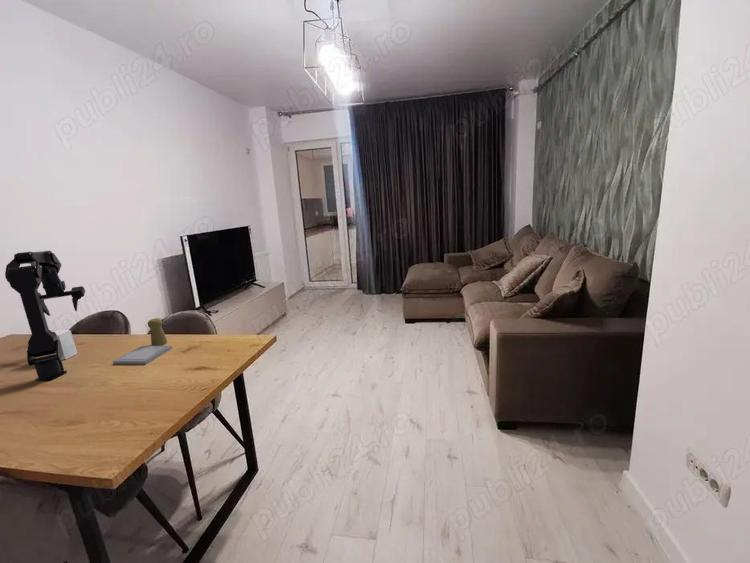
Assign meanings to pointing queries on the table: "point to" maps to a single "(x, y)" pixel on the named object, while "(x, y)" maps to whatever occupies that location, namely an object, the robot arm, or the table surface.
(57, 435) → the table surface
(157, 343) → the cork
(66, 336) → the small box
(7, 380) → the table surface
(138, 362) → the plate
